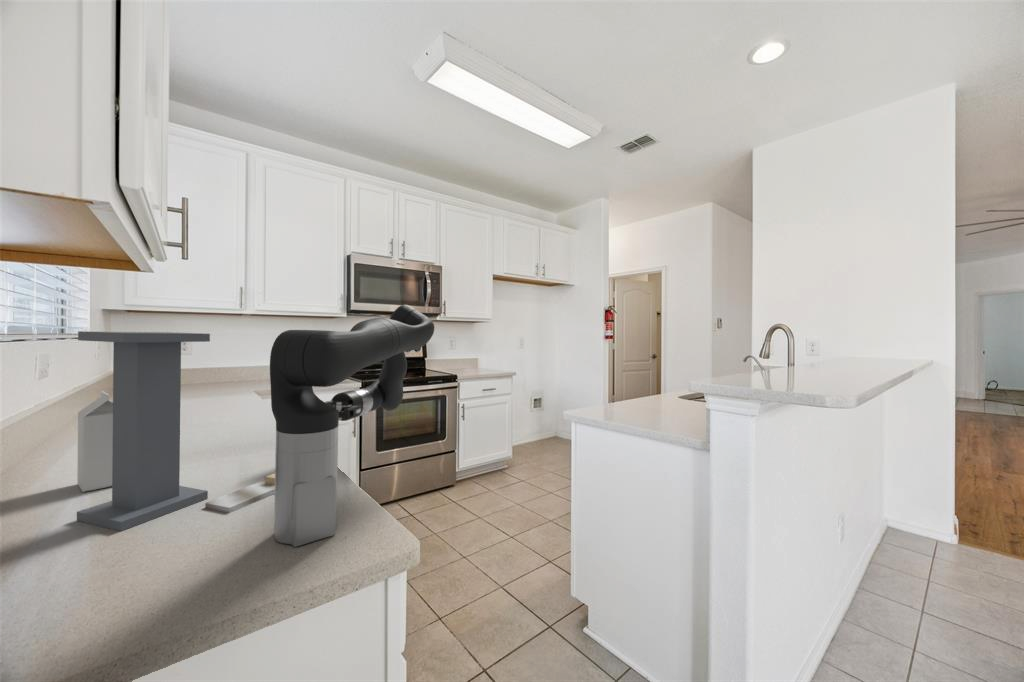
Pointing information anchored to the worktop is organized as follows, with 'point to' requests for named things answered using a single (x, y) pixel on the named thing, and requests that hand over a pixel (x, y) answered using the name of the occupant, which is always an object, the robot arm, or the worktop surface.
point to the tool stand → (144, 429)
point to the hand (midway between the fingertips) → (309, 416)
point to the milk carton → (95, 444)
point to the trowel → (244, 496)
